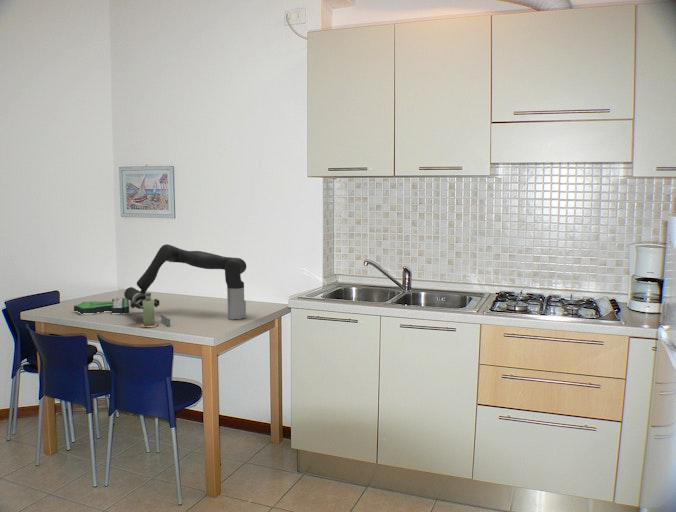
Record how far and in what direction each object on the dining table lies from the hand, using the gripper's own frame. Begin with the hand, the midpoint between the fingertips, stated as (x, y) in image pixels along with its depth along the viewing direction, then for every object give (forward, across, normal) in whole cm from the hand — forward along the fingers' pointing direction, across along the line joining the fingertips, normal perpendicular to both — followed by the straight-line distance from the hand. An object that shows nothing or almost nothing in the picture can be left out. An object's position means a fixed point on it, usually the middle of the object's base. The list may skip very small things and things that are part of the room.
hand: (148, 306), depth 295 cm
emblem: (-53, -14, +12) cm, 56 cm away
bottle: (0, 0, +10) cm, 10 cm away
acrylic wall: (0, +9, +11) cm, 14 cm away
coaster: (0, 0, +11) cm, 11 cm away
